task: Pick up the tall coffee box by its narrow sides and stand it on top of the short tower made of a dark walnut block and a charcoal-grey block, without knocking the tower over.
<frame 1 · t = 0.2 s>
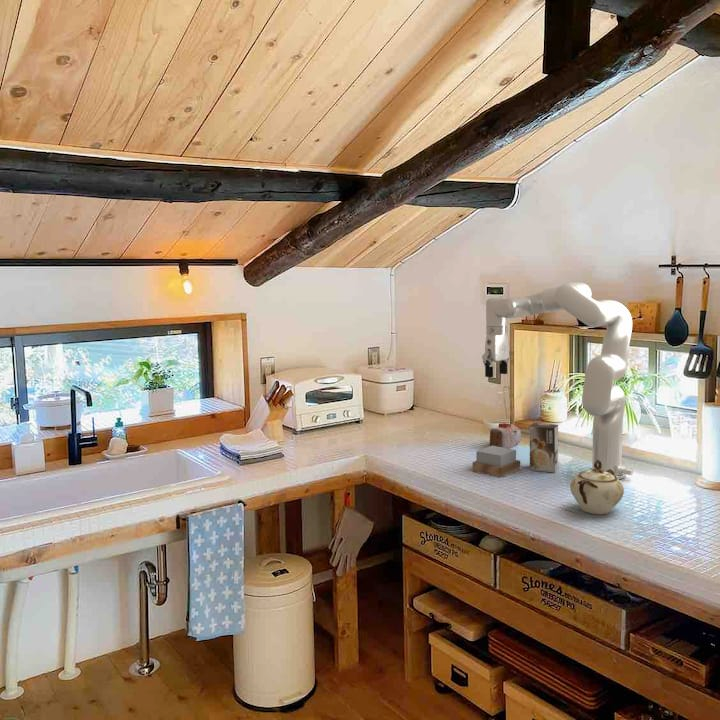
hand: (496, 375, 270), 31 cm above the worktop, tool pointing down, fingers open, 9 cm apart
sugar bowl: (596, 510, 210), on the worktop
tower top block: (496, 461, 252), point 3 cm above the worktop, touching tower base block
coffee box: (543, 469, 253), on the worktop
food item: (505, 447, 286), on the worktop
tower base block: (496, 472, 253), on the worktop, touching tower top block
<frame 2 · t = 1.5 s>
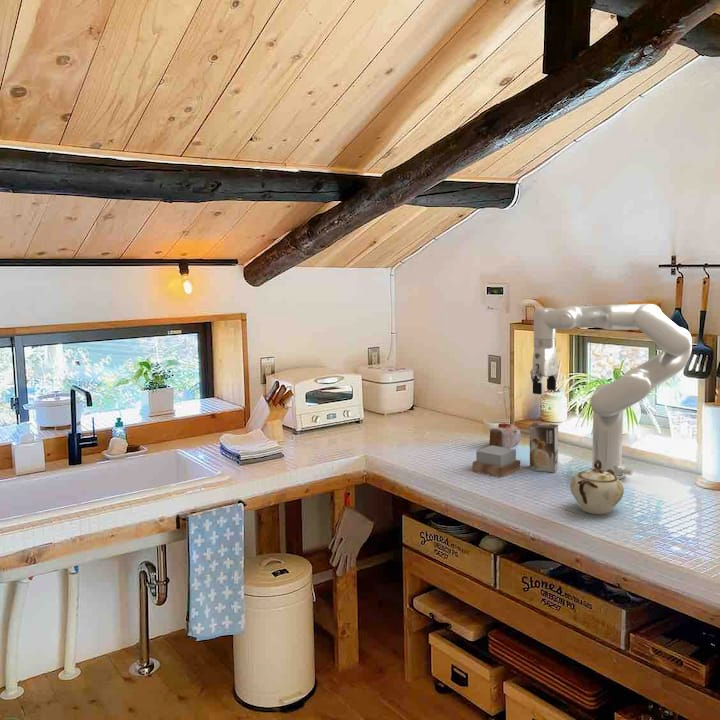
hand: (544, 391, 249), 28 cm above the worktop, tool pointing down, fingers open, 9 cm apart
nothing on the worktop moved.
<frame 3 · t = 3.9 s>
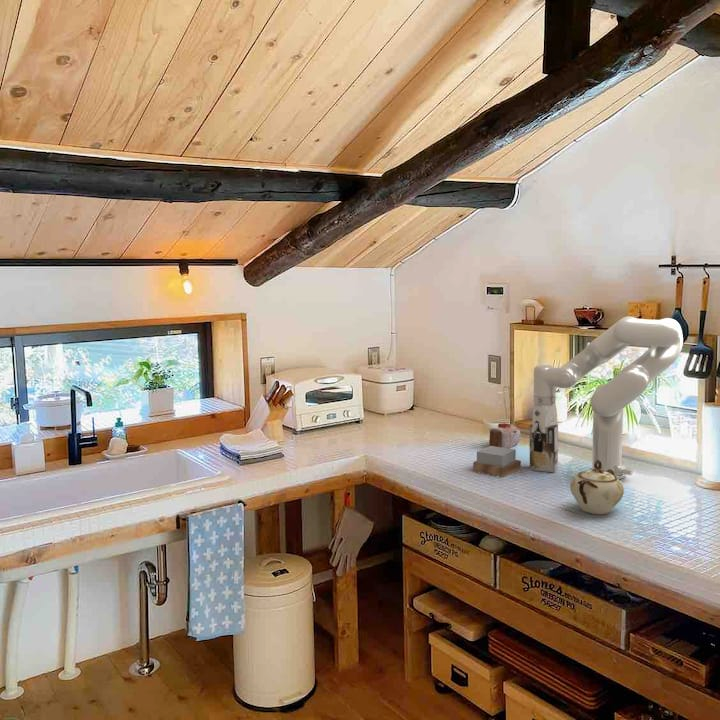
hand: (544, 449, 252), 7 cm above the worktop, tool pointing down, fingers closed on coffee box, 7 cm apart
coffee box: (543, 469, 253), on the worktop, touching gripper
everything else where it was.
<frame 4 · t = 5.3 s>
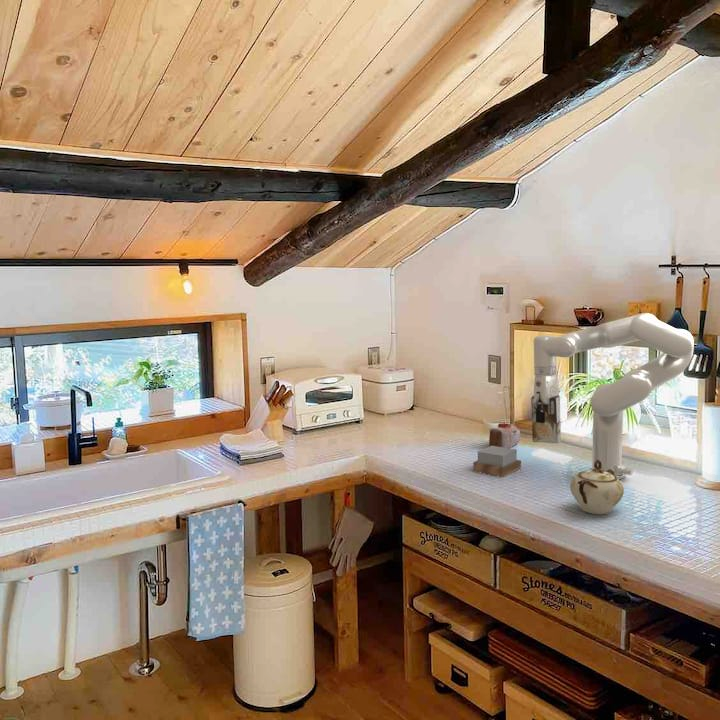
hand: (546, 420, 250), 18 cm above the worktop, tool pointing down, fingers closed on coffee box, 7 cm apart
tower top block: (497, 461, 252), point 3 cm above the worktop
coffee box: (546, 441, 251), point 10 cm above the worktop, touching gripper
tower base block: (497, 472, 253), on the worktop
everything else where it was.
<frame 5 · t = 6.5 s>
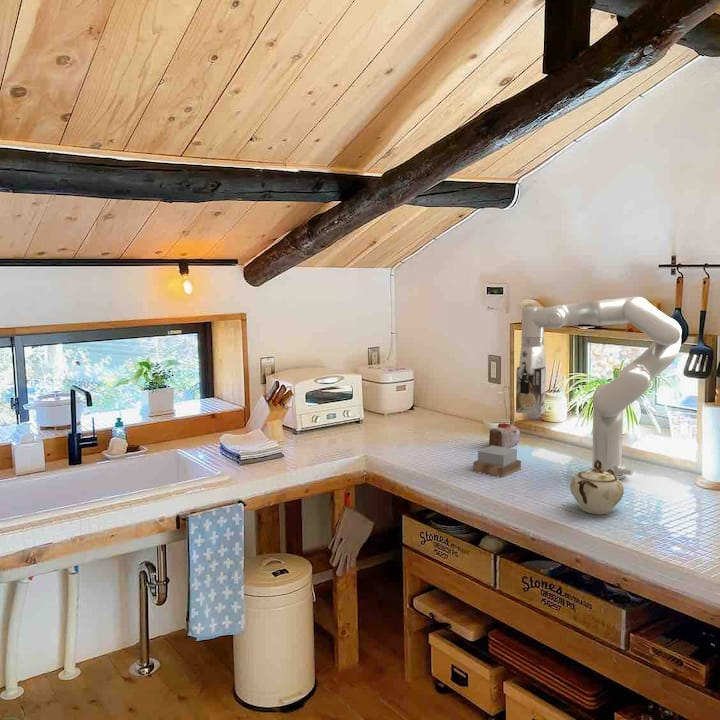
hand: (530, 391, 249), 28 cm above the worktop, tool pointing down, fingers closed on coffee box, 7 cm apart
coffee box: (530, 412, 250), point 21 cm above the worktop, touching gripper
everything else where it was.
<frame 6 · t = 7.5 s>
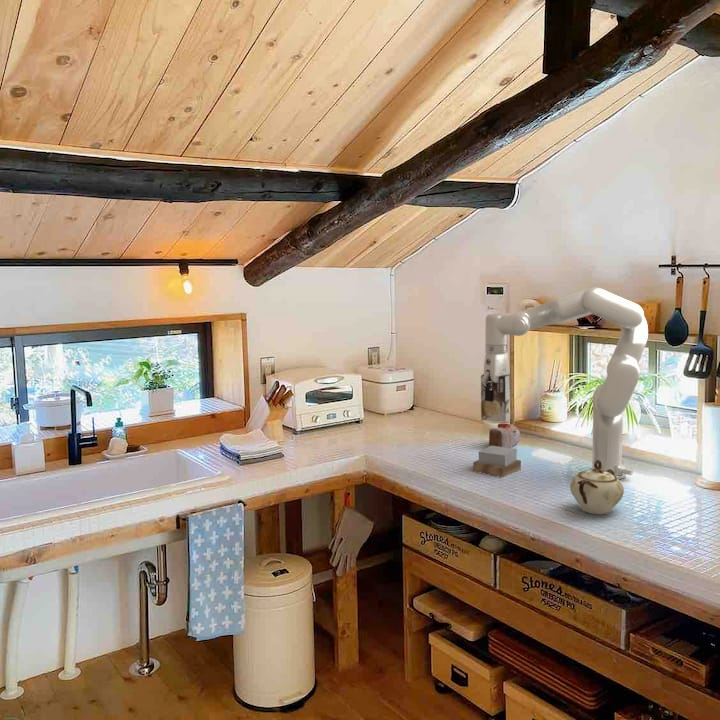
hand: (495, 399, 249), 26 cm above the worktop, tool pointing down, fingers closed on coffee box, 7 cm apart
coffee box: (495, 420, 250), point 18 cm above the worktop, touching gripper
everything else where it was.
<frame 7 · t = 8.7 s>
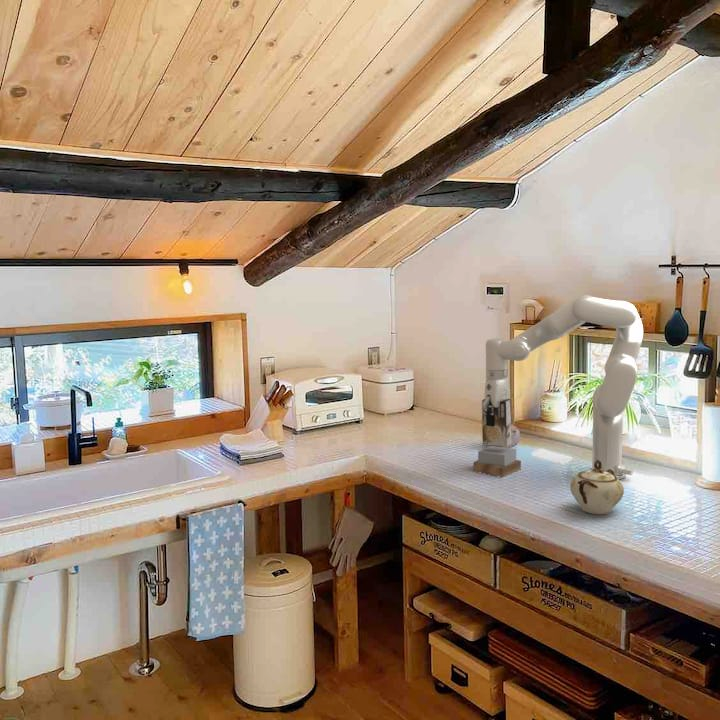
hand: (496, 423, 250), 17 cm above the worktop, tool pointing down, fingers closed on coffee box, 7 cm apart
tower top block: (497, 461, 252), point 3 cm above the worktop, touching tower base block
coffee box: (496, 444, 251), point 10 cm above the worktop, touching gripper
tower base block: (497, 472, 253), on the worktop, touching tower top block
everything else where it was.
when the fingers open (17 cm above the worktop, at t = 9.1 s): coffee box drops 2 cm, point 8 cm above the worktop.
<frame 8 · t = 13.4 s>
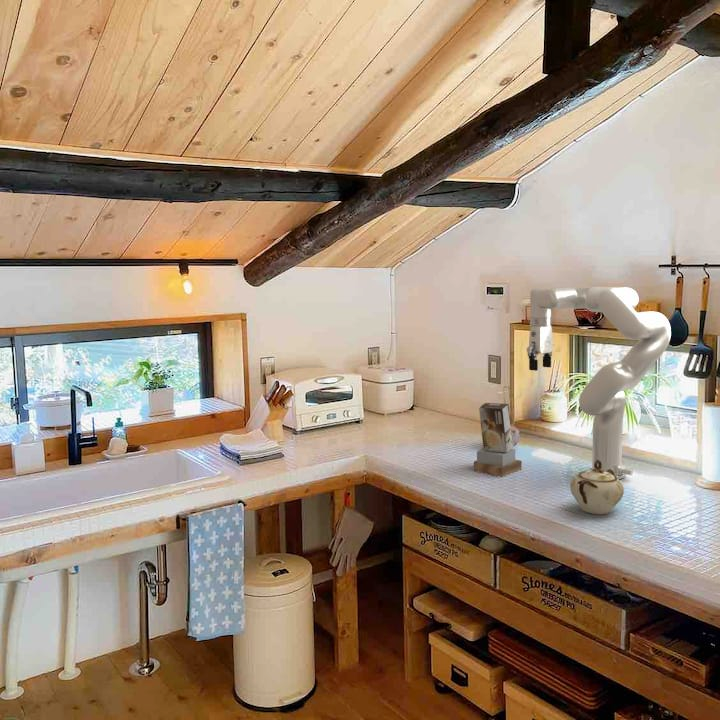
hand: (540, 368, 262), 34 cm above the worktop, tool pointing down, fingers open, 9 cm apart
tower top block: (496, 461, 253), point 3 cm above the worktop
coffee box: (498, 449, 252), point 8 cm above the worktop
tower base block: (497, 472, 253), on the worktop
everything else where it was.
at the end: coffee box inside the target area on the tower top block (0.8 cm from its centre), point 4.6 cm above the tower top block's base; coffee box tilted 9°; tower top block 0.6 cm from the target spot, point 3.4 cm above the worktop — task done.
